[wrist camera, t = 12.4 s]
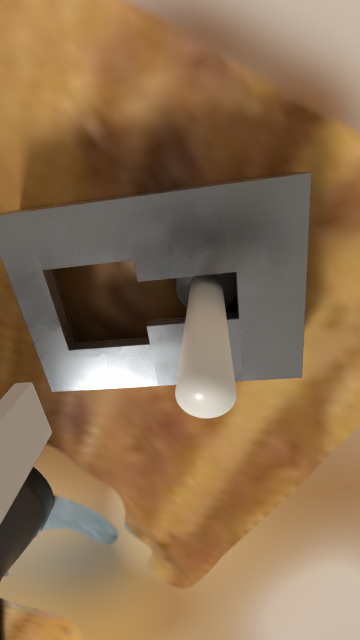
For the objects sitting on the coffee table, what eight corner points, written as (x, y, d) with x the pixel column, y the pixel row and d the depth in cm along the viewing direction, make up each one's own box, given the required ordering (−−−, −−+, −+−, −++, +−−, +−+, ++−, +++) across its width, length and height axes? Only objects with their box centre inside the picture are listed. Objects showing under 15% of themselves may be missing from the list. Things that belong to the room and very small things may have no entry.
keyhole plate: (70, 364, 29) (51, 391, 26) (19, 209, 24) (-15, 217, 20) (289, 349, 27) (302, 377, 23) (293, 171, 21) (311, 172, 17)
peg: (181, 309, 26) (157, 439, 14) (173, 255, 24) (138, 349, 12) (237, 304, 26) (265, 436, 13) (233, 248, 24) (264, 340, 11)
